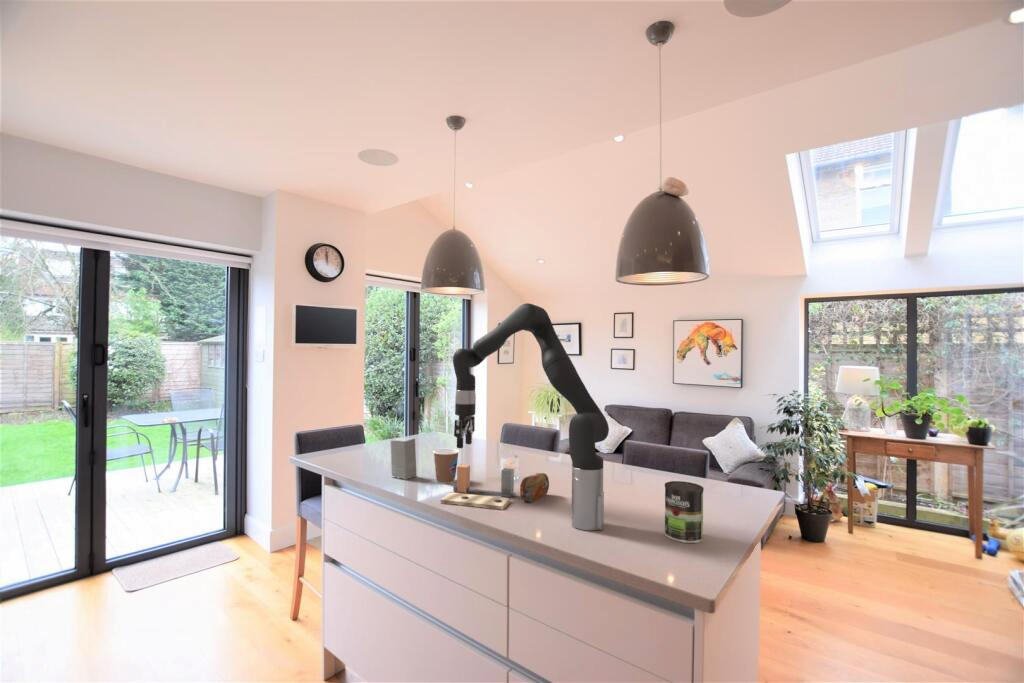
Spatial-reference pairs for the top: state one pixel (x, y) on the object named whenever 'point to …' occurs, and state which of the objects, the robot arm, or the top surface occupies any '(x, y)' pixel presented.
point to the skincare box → (403, 458)
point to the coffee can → (684, 511)
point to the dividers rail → (506, 485)
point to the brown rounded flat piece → (534, 487)
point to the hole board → (476, 500)
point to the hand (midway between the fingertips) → (464, 446)
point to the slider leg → (463, 478)
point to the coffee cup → (445, 464)
